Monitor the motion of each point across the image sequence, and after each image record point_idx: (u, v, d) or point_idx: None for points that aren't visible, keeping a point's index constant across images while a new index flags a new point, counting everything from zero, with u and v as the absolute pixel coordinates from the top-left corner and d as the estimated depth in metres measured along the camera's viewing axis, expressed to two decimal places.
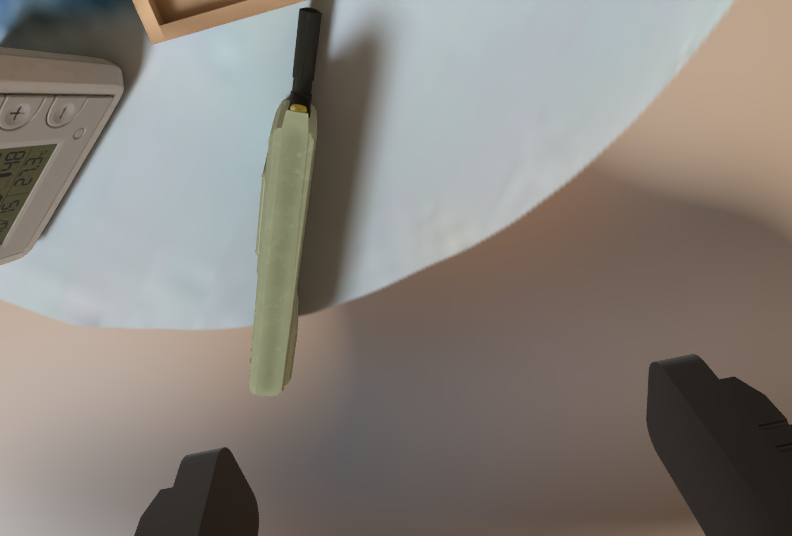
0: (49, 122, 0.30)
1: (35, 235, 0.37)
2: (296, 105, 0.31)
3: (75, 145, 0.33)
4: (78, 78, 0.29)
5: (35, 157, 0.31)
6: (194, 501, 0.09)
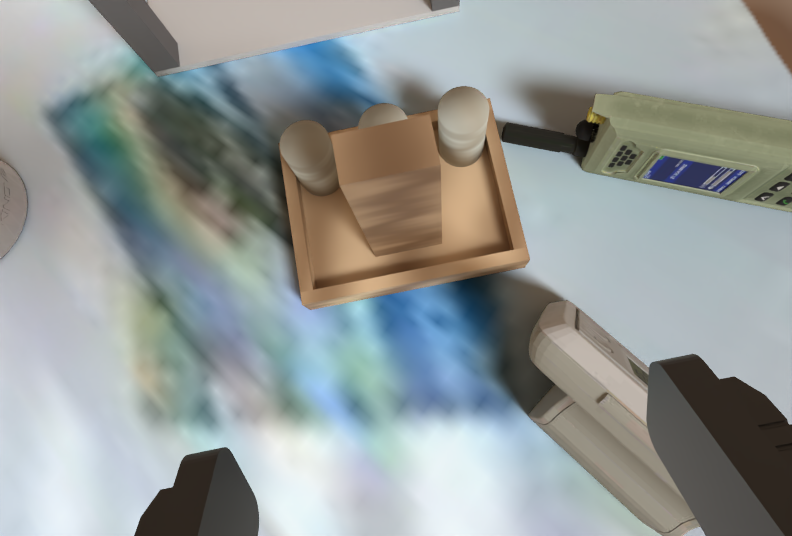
0: (604, 338, 0.29)
1: None
2: (587, 118, 0.33)
3: (628, 352, 0.32)
4: (561, 306, 0.31)
5: (641, 372, 0.29)
6: (194, 501, 0.09)
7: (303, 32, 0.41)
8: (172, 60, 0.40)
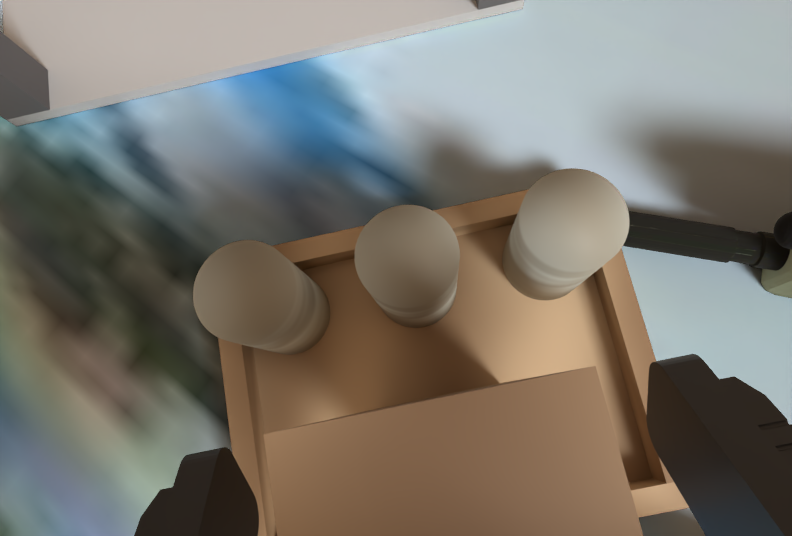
0: None
1: None
2: None
3: None
4: None
5: None
6: (194, 501, 0.09)
7: (258, 48, 0.24)
8: (32, 100, 0.23)
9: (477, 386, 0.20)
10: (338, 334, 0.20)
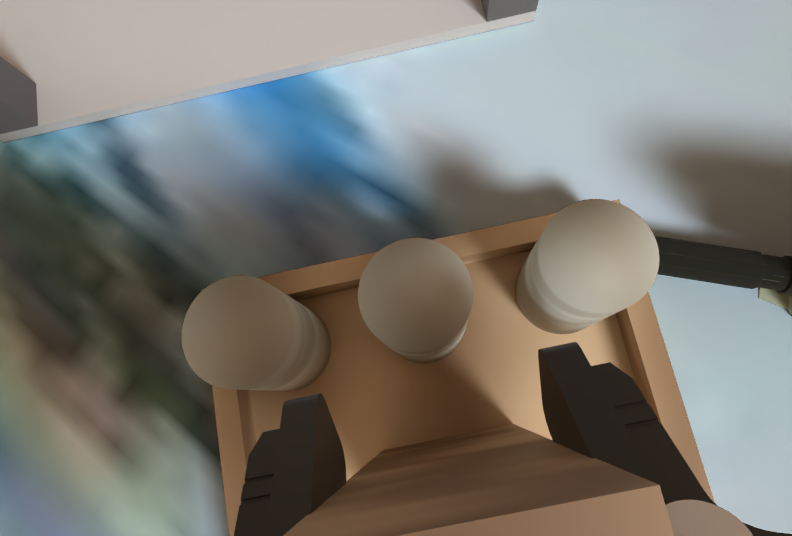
0: None
1: None
2: None
3: None
4: None
5: None
6: (303, 437, 0.10)
7: (256, 62, 0.23)
8: (19, 116, 0.22)
9: (489, 427, 0.18)
10: (339, 369, 0.19)
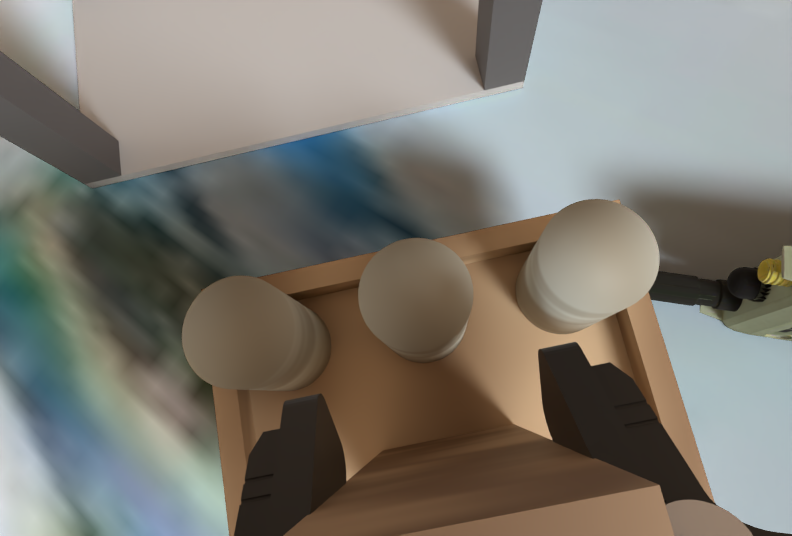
0: None
1: None
2: (760, 276, 0.20)
3: None
4: None
5: None
6: (303, 437, 0.10)
7: (297, 123, 0.28)
8: (108, 169, 0.28)
9: (489, 427, 0.18)
10: (339, 369, 0.19)
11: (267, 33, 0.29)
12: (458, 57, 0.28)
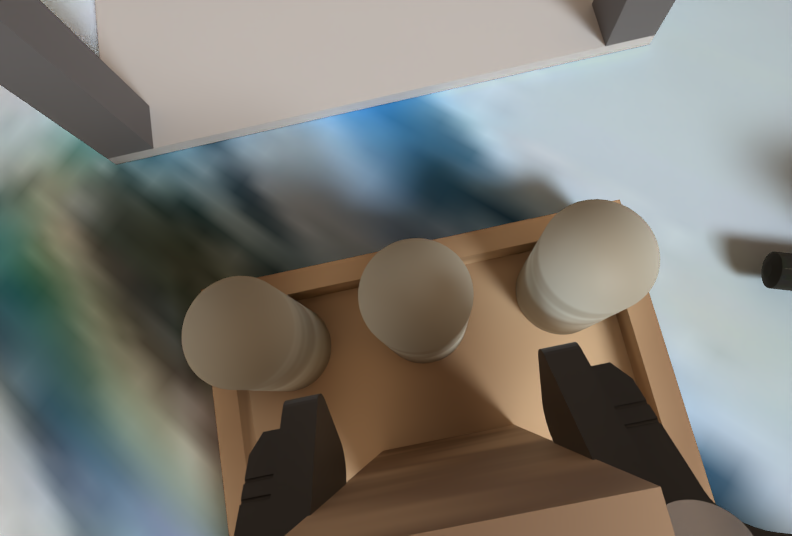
0: None
1: None
2: None
3: None
4: None
5: None
6: (303, 437, 0.10)
7: (372, 85, 0.23)
8: (139, 140, 0.22)
9: (489, 427, 0.18)
10: (339, 369, 0.19)
11: None
12: (570, 6, 0.23)
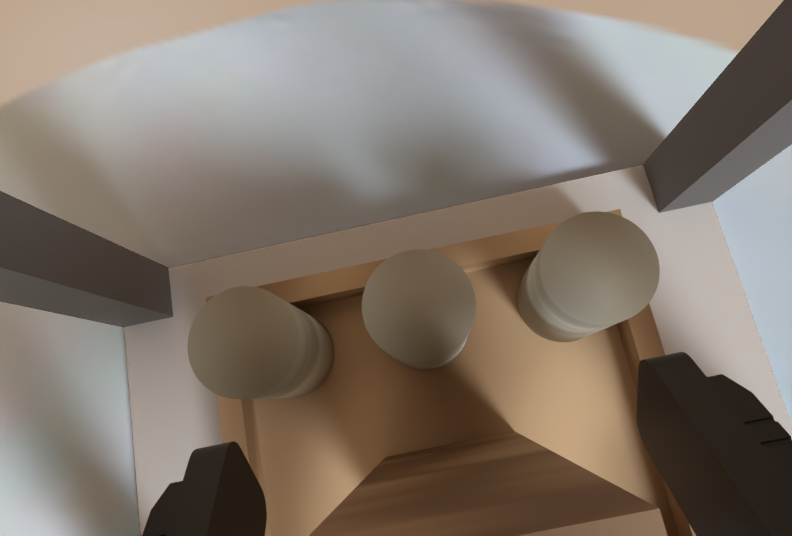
0: None
1: None
2: None
3: None
4: None
5: None
6: (204, 494, 0.09)
7: None
8: None
9: (490, 434, 0.18)
10: (342, 376, 0.19)
11: None
12: None
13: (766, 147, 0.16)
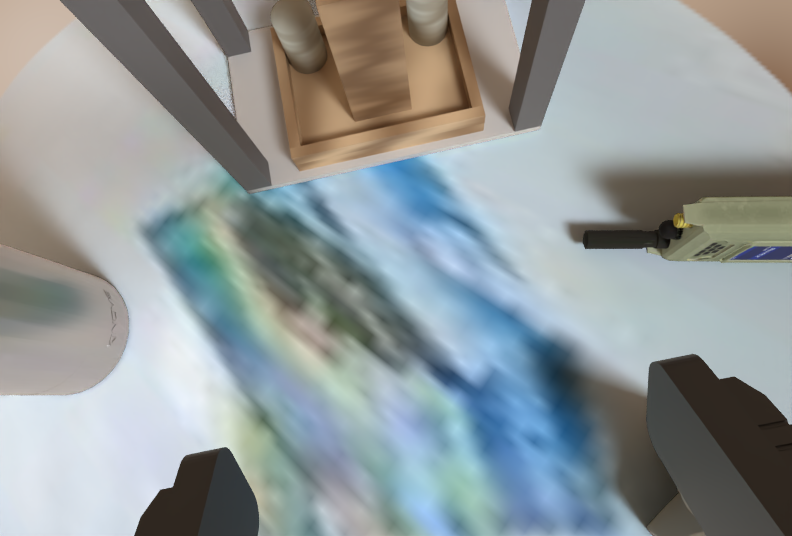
0: None
1: None
2: (675, 224, 0.35)
3: None
4: None
5: None
6: (194, 501, 0.09)
7: (390, 151, 0.42)
8: (266, 181, 0.42)
9: None
10: (331, 64, 0.43)
11: None
12: (497, 109, 0.42)
13: None
